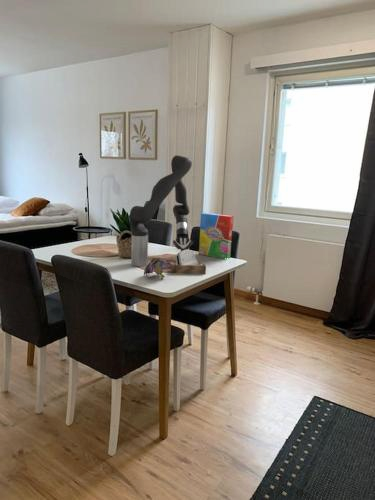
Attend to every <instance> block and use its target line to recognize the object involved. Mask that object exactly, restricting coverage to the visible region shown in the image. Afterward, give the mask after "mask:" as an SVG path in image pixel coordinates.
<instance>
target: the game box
mask: <svg viewBox="0 0 375 500" xmlns="http://www.w3.org/2000/svg"><path fill="white" fill-rule="evenodd" d="M199 225H200V228H199V245H198V255H203V256H208V257H212V258H213V257H214V258H218V257H219V258H220V259H224V258H226V259H225V260H228V259H230V258H231V253H232V252H231V251H232V241H233V239H232V238H233V225H234V215H227V214H218V213H211V212H210V213H209V212H201V213H200V224H199ZM227 258H228V259H227Z"/></svg>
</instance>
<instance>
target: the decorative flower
mask: <svg viewBox="0 0 375 500" xmlns="http://www.w3.org/2000/svg"><path fill="white" fill-rule="evenodd" d="M169 268H173V265H172V264H171V263H170V261H168V260H166V259H165V258H159V257H158V258H157V257H153V258H151V261H150V262H148V265H146V266H145V268H144V270H143V277H145V276H146V277H148V275H150V274H153V273H155V274H156V275H157V276H160V277H161V278H160V279H161V280H164V278H165V275H163V272H164V271H163V270H167V269H168V270H169Z"/></svg>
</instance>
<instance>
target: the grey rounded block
mask: <svg viewBox="0 0 375 500" xmlns="http://www.w3.org/2000/svg"><path fill="white" fill-rule="evenodd" d="M174 259H175V263H176V265H200V264H199V263H200V262H199V261H198V259H197V258H196V255H195V253H194V251H193V250H191V249H186V250H183V251H181V250H180V251H179V252H177V253H176V254H175V256H174Z"/></svg>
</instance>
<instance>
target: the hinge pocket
mask: <svg viewBox="0 0 375 500" xmlns="http://www.w3.org/2000/svg"><path fill="white" fill-rule="evenodd" d="M172 263H173V264H172V271H173V274H179V275H181V274H182V275H183V274H185V275H186V274H189V275H193V274H194V275H200V274H201V275H202V274H203V275H204V274H207V265H206V263H205V262H203V261H202V263H201V265H200V264H196V265H176V261H173V262H172Z"/></svg>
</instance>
